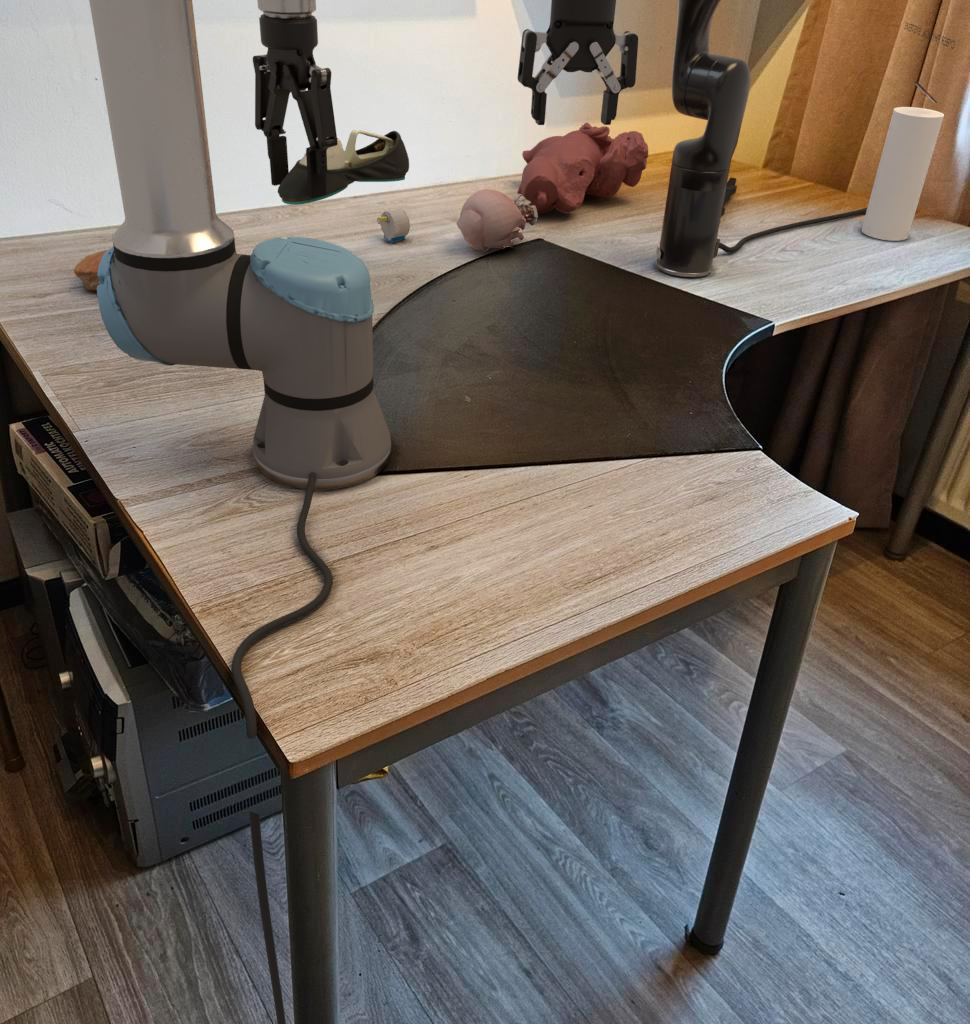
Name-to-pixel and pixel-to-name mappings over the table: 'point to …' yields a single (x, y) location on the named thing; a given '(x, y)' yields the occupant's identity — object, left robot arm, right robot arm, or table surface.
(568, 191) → the reddish-brown lumpy piece
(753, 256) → the table surface
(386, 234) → the electric motor
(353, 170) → the ballet flat
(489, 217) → the toy
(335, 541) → the table surface
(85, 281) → the ceramic shard
